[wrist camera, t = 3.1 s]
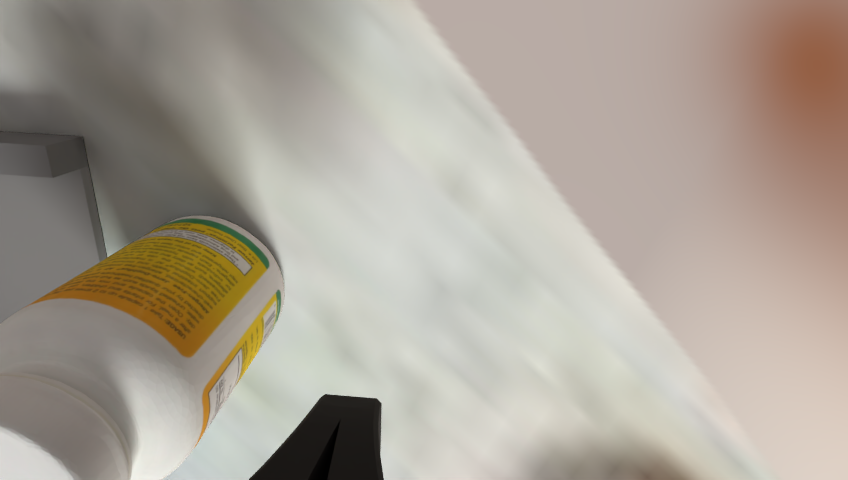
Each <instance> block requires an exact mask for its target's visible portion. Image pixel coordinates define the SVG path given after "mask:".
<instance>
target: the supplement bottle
mask: <svg viewBox="0 0 848 480" xmlns="http://www.w3.org/2000/svg"><path fill="white" fill-rule="evenodd" d="M284 297H285V294H284V283H283V278H282V274H281V271H280V269H279V266H278V264H277V263H276V261H275V259H274V257H273V256H272V254H271V253H270V251H269V250H268V249H267V247H265V246H264V245H263V244H262V243H261V242H260V241H259V240H258V239H257V238H255V237H254V236H253V235H251V234H250V233H249V232H247V231H246V230H244V229H243V228H241V227H239V226H238V225H236V224H233V223H231V222H229V221H227V220H224V219H220V218H217V217H210V216H187V217H182V218H178V219H175V220H172V221H170V222H167V223H165V224H164V225H162V226H160V227H158V228H156V229H155V230H153V231H151V232H150V233H148V234H146V235H145V236H143V237H141V238H139V239H137V240H136V241H134V242H132V243H130V244H129V245H127V246H126V247H124V248H122V249H121V250H119V251H118V252H116V253H114V254H113V255H111V256H109V257H108V258H106V259H104V260H103V261H101V262H99V263H98V264H96V265H94V266H93V267H91V268H89V269H88V270H86V271H84V272H83V273H81V274H79V275H78V276H76V277H74V278H73V279H71V280H69V281H68V282H66V283H64V284H63V285H61V286H59V287H58V288H56V289H54V290H53V291H51V292H49V293H48V294H46V295H44V296H43V297H41V298H39V299H38V300H36V301H34V302H33V303H31V304H29V305H28V306H26V307H24V308H22V309H21V310H19V311H18V312H16V313H14V314H13V315H12V316H10V317H9V318H7V319H6V320H4V321H3V322H2V323H1V324H0V480H161V479H163V478H165V477H166V476H168V475H169V474H170V473H172V472H173V471H174V470H175V469H177V468H178V467H179V466H180V465H181V464H182V463H183V461H184V460H185V459H186V458H187V457H188V456H189V454H190V453H191V452H192V450H193V449H194V448H195V446H196V445H197V443H198V442H199V440H200V439H201V437H202V436H203V434H204V433H205V431H206V430H207V428H208V427H209V425H210V424H211V422H212V420H213V419H214V418H215V416H216V414H217V413H218V411H219V410H220V408H221V407H222V406H223V404H224V403H225V401H226V400H227V398H228V396H229V395H230V393H231V392H232V391H233V389H234V388H235V386H236V385H237V383H238V382H239V380H240V379H241V377H242V376H243V374H244V373H245V371H246V370H247V368H248V366H249V365H250V363H251V362H252V360H253V359H254V357H255V356H256V354H257V353H258V351H259V350H260V348H261V347H262V345H263V344H264V342H265V341H266V339H267V338H268V336H269V335H270V333H271V332H272V330H273V328H274V326H275V325H276V323H277V321H278V319H279V317H280V315H281V312H282V308H283V305H284Z"/></svg>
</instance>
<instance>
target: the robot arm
mask: <svg viewBox="0 0 848 480" xmlns="http://www.w3.org/2000/svg"><path fill="white" fill-rule="evenodd" d="M380 442H381V402H380V401H379V400H378V399H375V398H363V397H351V396H339V395H327V394H325V395H323V396H322V397H321V398H320V399H319V400H318V402H317V403H316V404H315V406H314V407H313V408H312V409H311V411H310V412H309V413H308V414H307V416H306V417H305V418H304V419H303V421H302V422H301V423H300V424H299V425H298V427H297V428H296V429H295V430H294V431H293V433H292V434H291V435H290V436H289V437H288V438H287V439H286V441H285V442H284V443H283V444H282V445H281V446H280V447H279V448H278V449H277V451H276V452H275V453H274V454H273V455H272V456H271V457H270V458H269V459H268V460H267V462H266V463H265V464H264V465H263V466H262V467H261V468H260V469H259V470H258V471H257V472H256V473H255V474H254V475H253V476H252V477H251V478H250V479H249V480H384V478H383V472H382V465H381V458H380Z"/></svg>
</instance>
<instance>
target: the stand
mask: <svg viewBox="0 0 848 480" xmlns="http://www.w3.org/2000/svg"><path fill="white" fill-rule="evenodd" d="M106 258H107V255H106V250H105V245H104V240H103V235H102V230H101V226H100V221H99V216H98V211H97V206H96V201H95V196H94V191H93V186H92V181H91V176H90V171H89V167H88V162H87V157H86V152H85V147H84V142H83V137H81V136H65V135H50V134H34V133H18V132H2V131H0V324H1V323H2V322H3V321H4V320H6V319H7V318H9V317H10V316H12V315H13V314H14V313H16V312H18V311H19V310H21V309H22V308H24V307H26V306H28V305H29V304H31V303H33V302H34V301H36V300H38V299H39V298H41V297H43V296H44V295H46V294H48V293H49V292H51V291H53V290H54V289H56V288H58V287H59V286H61V285H63V284H64V283H66V282H68V281H69V280H71V279H73V278H74V277H76V276H78V275H79V274H81V273H83V272H84V271H86V270H88V269H89V268H91V267H93V266H94V265H96V264H98V263H99V262H101V261H103V260H104V259H106Z"/></svg>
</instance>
